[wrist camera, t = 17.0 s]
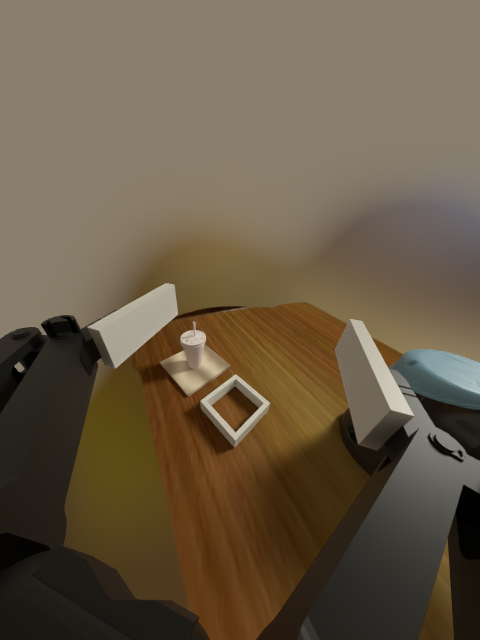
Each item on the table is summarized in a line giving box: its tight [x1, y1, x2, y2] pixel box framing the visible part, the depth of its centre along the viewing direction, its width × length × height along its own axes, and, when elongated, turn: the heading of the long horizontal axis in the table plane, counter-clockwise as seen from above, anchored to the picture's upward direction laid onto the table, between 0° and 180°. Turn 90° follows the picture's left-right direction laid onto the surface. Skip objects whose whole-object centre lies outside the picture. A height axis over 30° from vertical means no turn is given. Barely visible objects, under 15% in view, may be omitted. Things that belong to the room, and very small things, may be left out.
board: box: [160, 344, 230, 397], centre depth 52 cm, size 14×14×1 cm
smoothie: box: [180, 322, 206, 369], centre depth 48 cm, size 6×6×14 cm
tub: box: [200, 375, 270, 448], centre depth 41 cm, size 11×11×3 cm
